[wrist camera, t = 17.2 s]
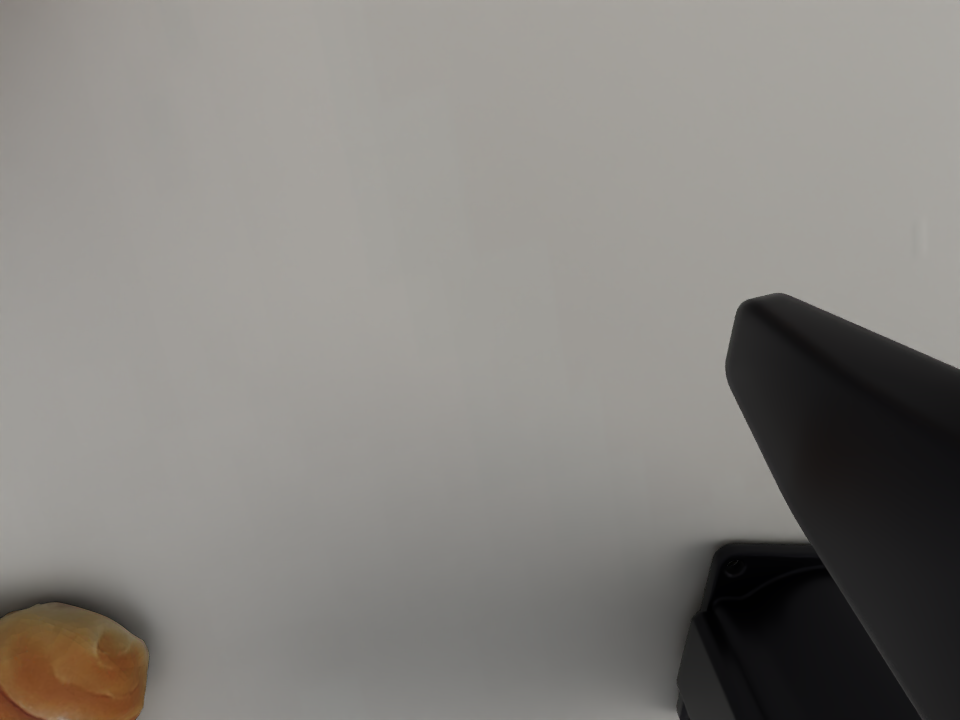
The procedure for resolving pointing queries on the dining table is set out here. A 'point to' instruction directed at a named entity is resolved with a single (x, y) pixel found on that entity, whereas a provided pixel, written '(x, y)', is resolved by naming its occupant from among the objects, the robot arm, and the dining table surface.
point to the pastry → (69, 666)
